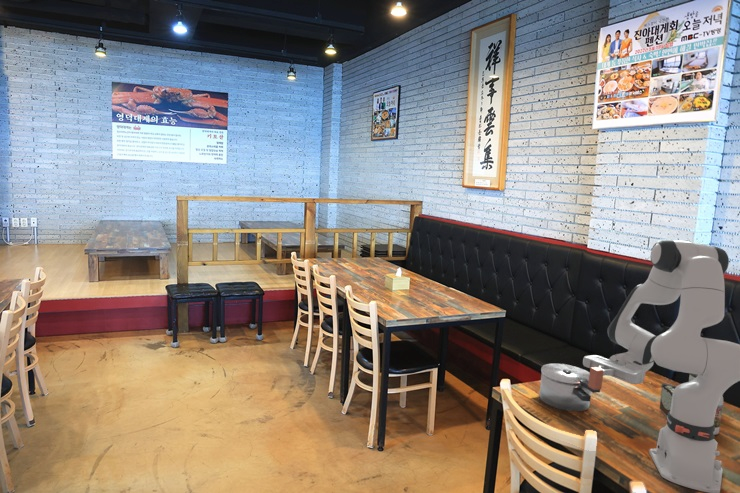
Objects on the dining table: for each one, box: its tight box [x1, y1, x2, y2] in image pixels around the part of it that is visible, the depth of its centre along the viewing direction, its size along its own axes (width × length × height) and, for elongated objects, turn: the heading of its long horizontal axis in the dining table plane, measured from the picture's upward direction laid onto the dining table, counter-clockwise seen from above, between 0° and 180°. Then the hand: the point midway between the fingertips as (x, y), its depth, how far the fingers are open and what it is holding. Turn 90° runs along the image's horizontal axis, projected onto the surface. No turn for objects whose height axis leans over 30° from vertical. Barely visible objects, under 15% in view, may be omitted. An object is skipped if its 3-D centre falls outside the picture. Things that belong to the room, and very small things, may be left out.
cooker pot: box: [538, 373, 592, 412], centre depth 184 cm, size 27×18×10 cm
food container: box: [659, 382, 678, 418], centre depth 180 cm, size 12×6×10 cm, turn 168°
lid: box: [540, 363, 604, 394], centre depth 183 cm, size 25×19×8 cm
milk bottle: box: [714, 395, 724, 436], centre depth 169 cm, size 8×8×20 cm
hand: (599, 372), depth 173 cm, fingers closed
